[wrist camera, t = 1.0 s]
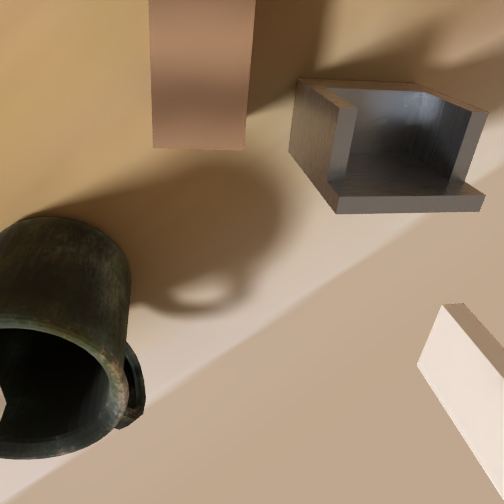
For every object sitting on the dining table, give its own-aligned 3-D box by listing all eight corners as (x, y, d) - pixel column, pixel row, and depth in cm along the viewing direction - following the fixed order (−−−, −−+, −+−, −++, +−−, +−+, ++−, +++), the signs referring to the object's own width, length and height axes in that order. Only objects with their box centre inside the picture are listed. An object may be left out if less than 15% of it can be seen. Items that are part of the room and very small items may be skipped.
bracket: (297, 77, 28) (354, 118, 20) (415, 83, 30) (514, 122, 22) (288, 151, 31) (335, 214, 23) (397, 152, 33) (479, 211, 24)
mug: (58, 176, 29) (5, 279, 19) (191, 303, 37) (203, 423, 27) (-55, 263, 31) (-157, 399, 21) (95, 366, 38) (73, 501, 28)
